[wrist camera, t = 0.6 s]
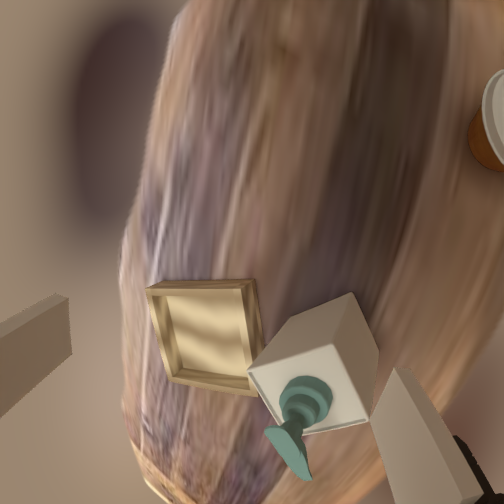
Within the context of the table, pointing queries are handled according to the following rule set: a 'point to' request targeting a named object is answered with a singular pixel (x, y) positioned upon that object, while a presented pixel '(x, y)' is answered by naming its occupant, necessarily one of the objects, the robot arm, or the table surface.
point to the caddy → (208, 332)
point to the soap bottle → (316, 376)
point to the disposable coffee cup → (489, 126)
